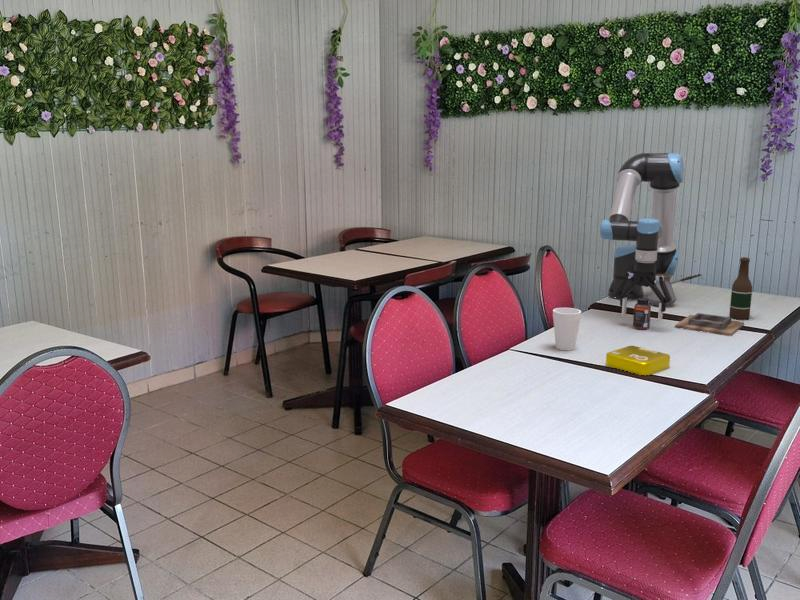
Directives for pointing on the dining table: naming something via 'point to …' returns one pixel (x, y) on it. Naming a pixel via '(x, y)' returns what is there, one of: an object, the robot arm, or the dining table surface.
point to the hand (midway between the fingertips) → (641, 317)
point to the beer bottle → (741, 293)
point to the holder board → (710, 324)
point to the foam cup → (566, 327)
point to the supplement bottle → (642, 314)
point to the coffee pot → (655, 299)
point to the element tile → (638, 360)
